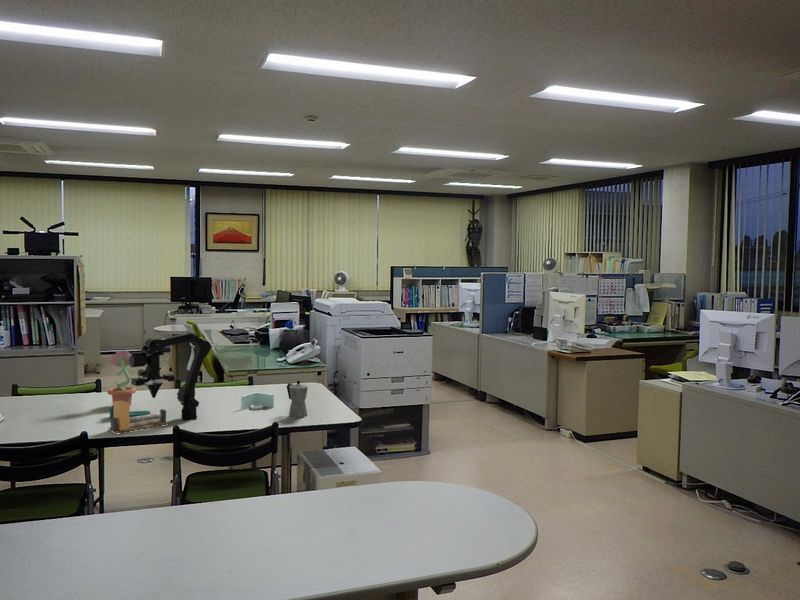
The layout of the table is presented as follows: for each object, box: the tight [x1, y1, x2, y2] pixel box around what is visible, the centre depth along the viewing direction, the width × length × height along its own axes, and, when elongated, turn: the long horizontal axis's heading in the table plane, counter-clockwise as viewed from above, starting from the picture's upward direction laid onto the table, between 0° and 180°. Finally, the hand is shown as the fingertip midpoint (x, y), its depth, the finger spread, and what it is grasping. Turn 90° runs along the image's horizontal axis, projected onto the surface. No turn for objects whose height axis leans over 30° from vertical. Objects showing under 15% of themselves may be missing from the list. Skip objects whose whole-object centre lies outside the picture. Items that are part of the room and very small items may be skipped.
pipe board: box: [107, 408, 170, 434], centre depth 292 cm, size 24×10×6 cm, turn 135°
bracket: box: [109, 404, 152, 420], centre depth 309 cm, size 18×7×8 cm, turn 107°
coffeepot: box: [286, 380, 308, 419], centre depth 319 cm, size 15×9×18 cm, turn 49°
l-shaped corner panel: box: [240, 391, 275, 411], centre depth 331 cm, size 12×12×8 cm
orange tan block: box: [112, 401, 130, 431], centre depth 286 cm, size 4×8×12 cm, turn 45°
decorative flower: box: [107, 350, 137, 407], centre depth 328 cm, size 15×14×30 cm
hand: (153, 397), depth 296 cm, fingers closed
